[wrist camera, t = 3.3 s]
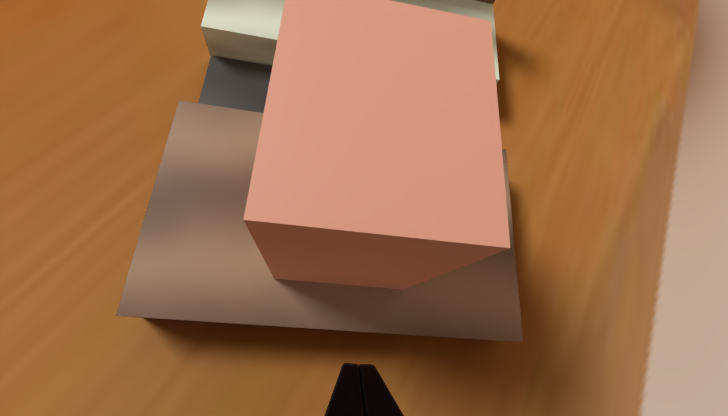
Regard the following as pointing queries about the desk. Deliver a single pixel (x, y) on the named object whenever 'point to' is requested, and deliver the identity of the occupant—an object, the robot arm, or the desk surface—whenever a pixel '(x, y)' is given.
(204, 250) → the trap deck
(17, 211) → the desk surface
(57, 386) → the desk surface
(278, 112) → the brick block
